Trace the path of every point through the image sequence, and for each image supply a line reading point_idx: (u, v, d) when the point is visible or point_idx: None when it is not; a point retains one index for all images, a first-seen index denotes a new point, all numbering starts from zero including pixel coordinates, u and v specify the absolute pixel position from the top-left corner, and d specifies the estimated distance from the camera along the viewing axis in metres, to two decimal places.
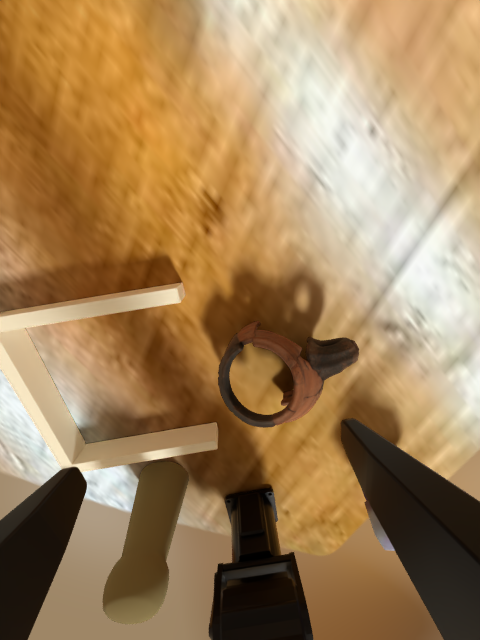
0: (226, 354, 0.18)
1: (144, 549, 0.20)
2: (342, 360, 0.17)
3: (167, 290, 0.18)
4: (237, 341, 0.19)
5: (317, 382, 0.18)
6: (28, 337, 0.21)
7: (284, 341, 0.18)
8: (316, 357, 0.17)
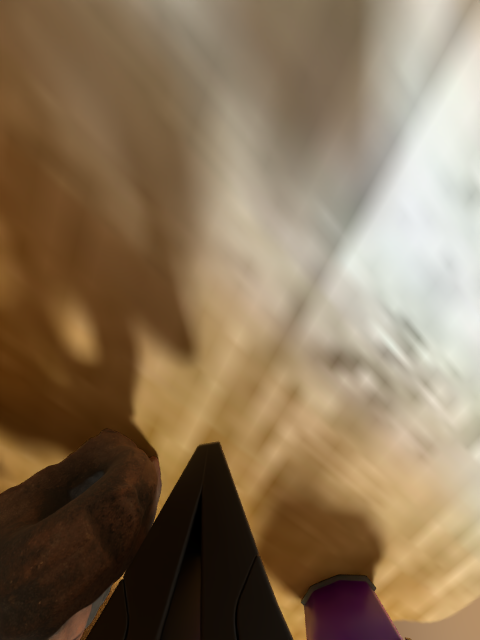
0: None
1: None
2: (4, 630, 0.04)
3: None
4: None
5: None
6: None
7: None
8: None
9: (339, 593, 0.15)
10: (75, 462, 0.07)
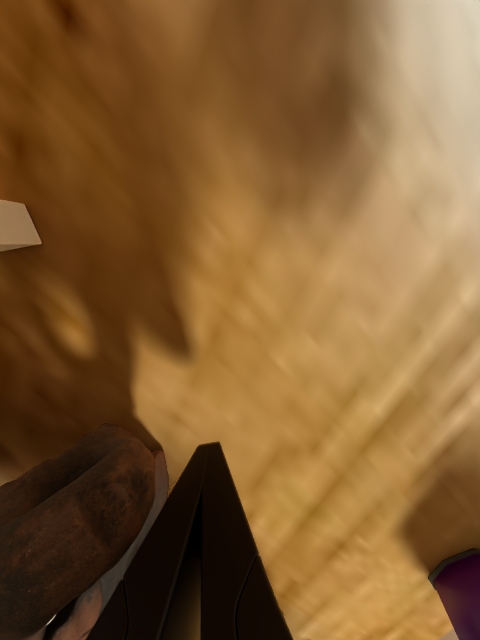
0: None
1: None
2: None
3: None
4: None
5: None
6: None
7: None
8: None
9: None
10: (73, 456, 0.07)
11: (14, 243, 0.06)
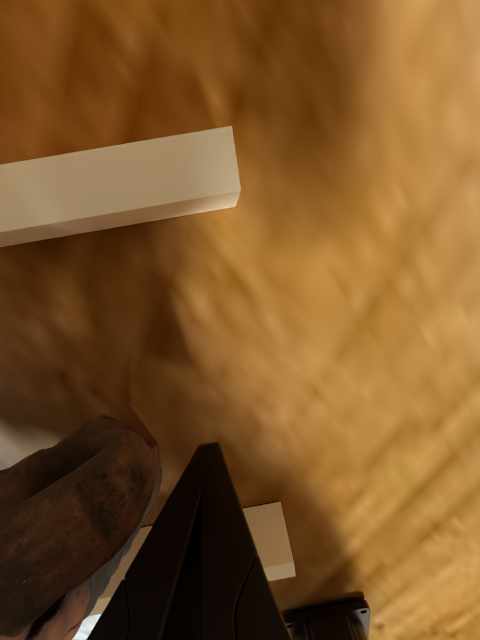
0: None
1: None
2: None
3: (196, 136, 0.05)
4: None
5: None
6: None
7: None
8: None
9: None
10: (69, 446, 0.07)
11: (236, 200, 0.06)
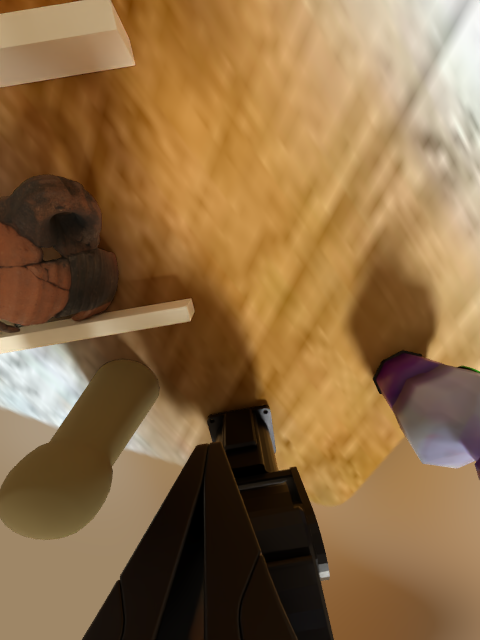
0: None
1: (75, 437, 0.14)
2: (27, 196, 0.11)
3: (94, 0, 0.11)
4: None
5: (19, 245, 0.12)
6: None
7: None
8: (5, 204, 0.11)
9: (405, 354, 0.21)
10: None
11: (128, 51, 0.13)
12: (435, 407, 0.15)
